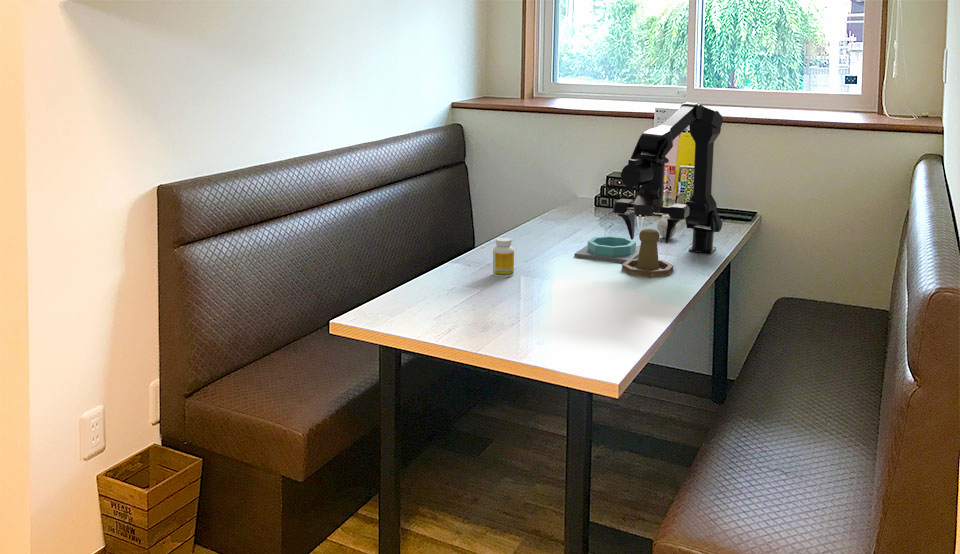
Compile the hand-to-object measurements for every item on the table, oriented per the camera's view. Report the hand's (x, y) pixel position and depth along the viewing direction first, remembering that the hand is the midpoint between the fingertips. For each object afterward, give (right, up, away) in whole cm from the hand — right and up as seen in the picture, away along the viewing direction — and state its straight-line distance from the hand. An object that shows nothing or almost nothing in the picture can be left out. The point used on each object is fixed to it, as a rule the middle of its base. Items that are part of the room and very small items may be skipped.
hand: (649, 241), depth 234 cm
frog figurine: (+12, +2, +36) cm, 38 cm away
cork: (0, -8, +2) cm, 8 cm away
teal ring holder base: (-7, -3, +18) cm, 20 cm away
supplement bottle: (-38, -9, -2) cm, 39 cm away
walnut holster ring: (0, -8, +2) cm, 8 cm away
